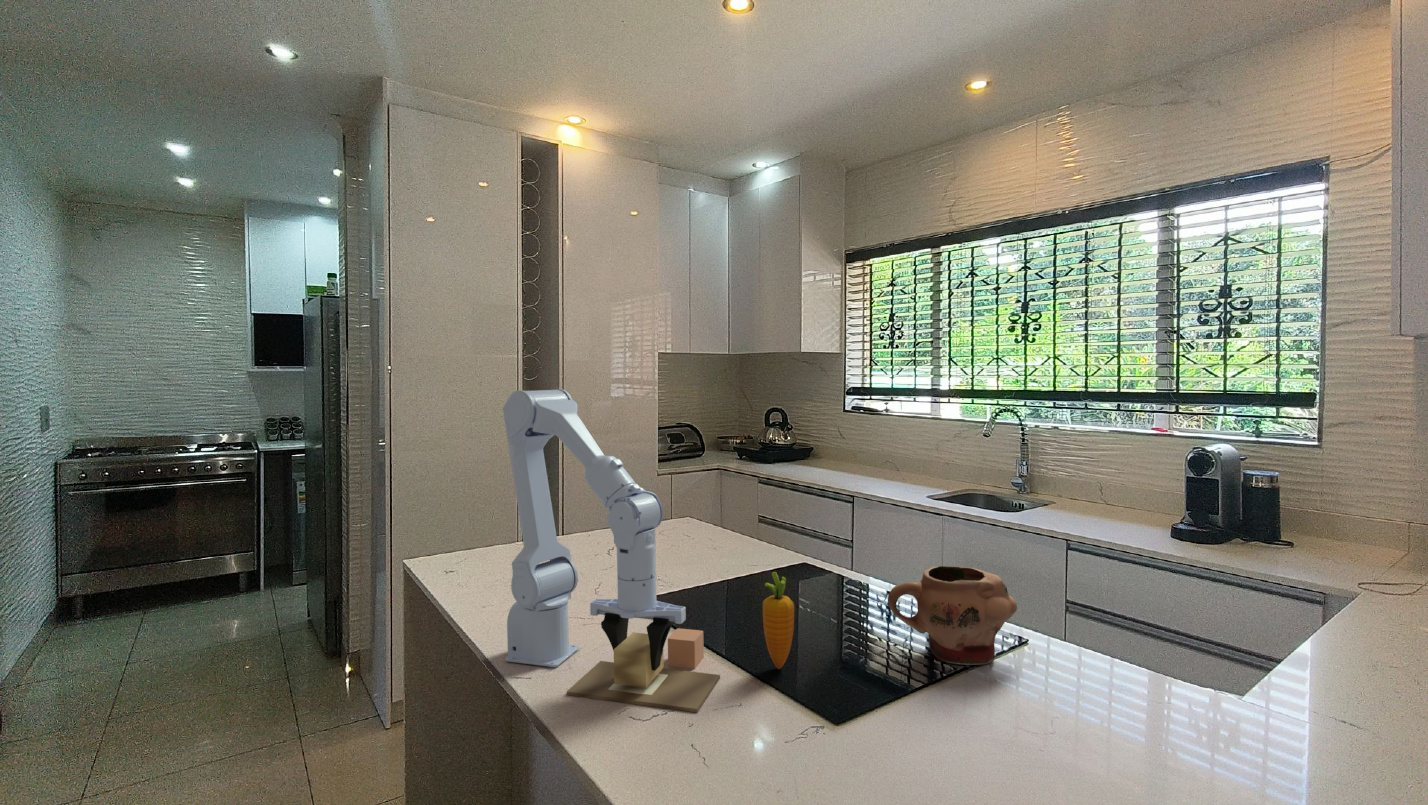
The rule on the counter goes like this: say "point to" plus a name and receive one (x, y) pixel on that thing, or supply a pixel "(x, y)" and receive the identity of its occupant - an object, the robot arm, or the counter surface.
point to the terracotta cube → (685, 648)
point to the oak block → (634, 661)
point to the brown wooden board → (648, 688)
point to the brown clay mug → (958, 612)
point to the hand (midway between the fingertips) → (638, 665)
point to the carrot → (778, 622)
